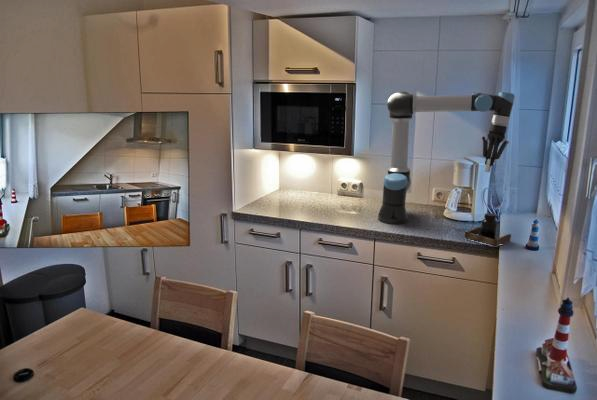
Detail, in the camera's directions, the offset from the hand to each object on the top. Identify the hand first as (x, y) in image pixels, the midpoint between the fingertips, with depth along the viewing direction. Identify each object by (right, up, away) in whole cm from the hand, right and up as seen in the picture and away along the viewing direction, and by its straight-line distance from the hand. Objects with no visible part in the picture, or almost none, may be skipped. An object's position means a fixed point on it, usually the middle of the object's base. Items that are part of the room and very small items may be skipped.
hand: (487, 171), depth 233 cm
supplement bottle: (-6, -32, -15) cm, 36 cm away
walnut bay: (-7, -33, -17) cm, 38 cm away
